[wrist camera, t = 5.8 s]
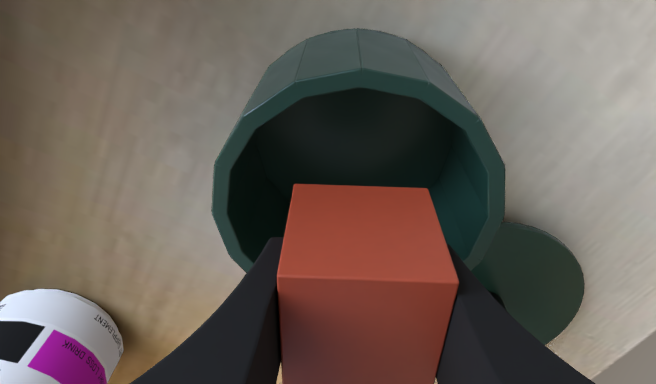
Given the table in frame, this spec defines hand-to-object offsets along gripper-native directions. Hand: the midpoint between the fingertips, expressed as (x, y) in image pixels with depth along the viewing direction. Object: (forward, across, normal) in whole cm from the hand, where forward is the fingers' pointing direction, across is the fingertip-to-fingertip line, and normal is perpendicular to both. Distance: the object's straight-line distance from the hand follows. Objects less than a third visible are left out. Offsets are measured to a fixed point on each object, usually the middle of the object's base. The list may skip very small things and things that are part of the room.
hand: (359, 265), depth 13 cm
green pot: (+9, 0, 0) cm, 9 cm away
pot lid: (+8, -8, +10) cm, 15 cm away
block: (+2, 0, 0) cm, 2 cm away
